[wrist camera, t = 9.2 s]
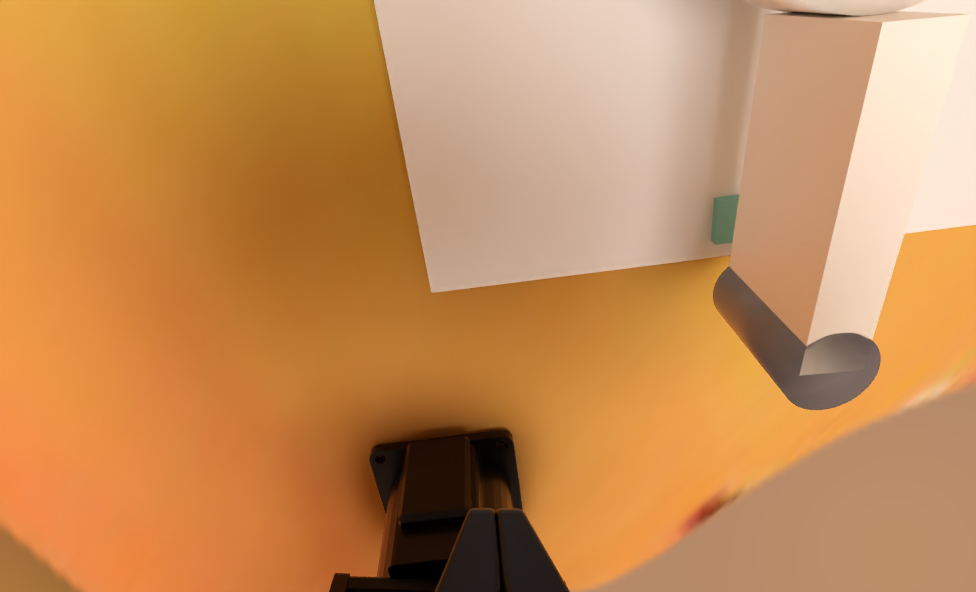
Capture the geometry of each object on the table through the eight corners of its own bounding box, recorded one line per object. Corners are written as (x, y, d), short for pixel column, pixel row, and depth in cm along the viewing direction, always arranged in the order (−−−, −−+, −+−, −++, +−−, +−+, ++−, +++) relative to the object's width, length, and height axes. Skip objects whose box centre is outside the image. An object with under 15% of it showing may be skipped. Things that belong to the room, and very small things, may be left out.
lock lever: (703, -310, 11) (834, -475, 7) (1002, -339, 11) (1299, -522, 7) (655, 328, 18) (706, 419, 14) (835, 312, 18) (936, 399, 14)
